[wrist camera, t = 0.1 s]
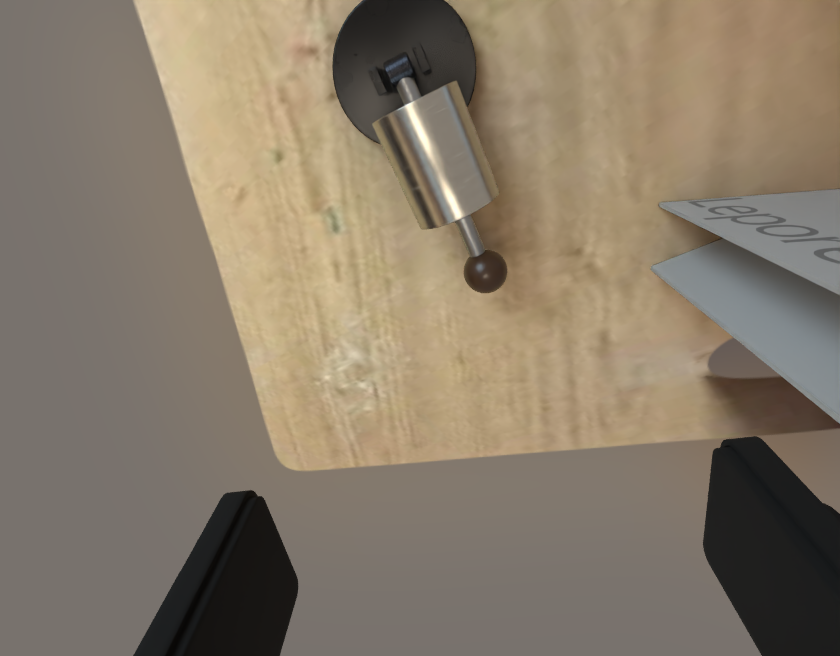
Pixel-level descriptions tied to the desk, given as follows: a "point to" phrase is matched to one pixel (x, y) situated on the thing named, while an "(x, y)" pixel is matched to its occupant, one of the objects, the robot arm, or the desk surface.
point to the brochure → (770, 281)
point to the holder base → (389, 36)
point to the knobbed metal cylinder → (441, 166)
